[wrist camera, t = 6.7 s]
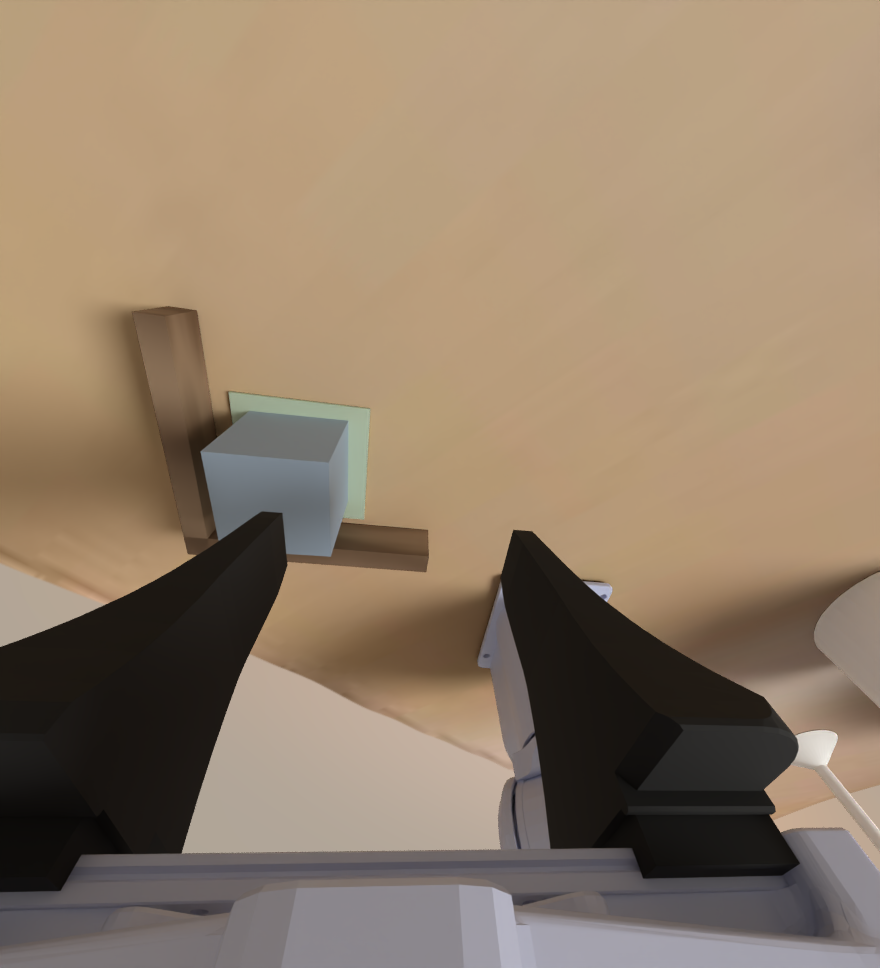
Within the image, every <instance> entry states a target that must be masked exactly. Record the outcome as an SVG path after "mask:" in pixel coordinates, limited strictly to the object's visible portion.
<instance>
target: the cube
mask: <svg viewBox="0 0 880 968" xmlns="http://www.w3.org/2000/svg"><path fill="white" fill-rule="evenodd" d="M201 456H202V461H203V466H204V471H205V476H206V481H207V486H208V491H209V496H210V501H211V506H212V511H213V516H214V521H215V526H216V531H217V535H218V540H221V539H222V538H224V537H225V536H227V535H228V534H230V533H231V532H233V531H234V530H235V529H237V528H238V527H240V526H241V525H242V524H244V523H245V522H247V521H248V520H250V519H251V518H252V517H254V516H255V515H257V514H258V513H260V512H261V511H265V512H278V513H283V523H284V534H285V545H286V554H296V555H312V556H328V557H331V554H332V551H333V548H334V545H335V541H336V538H337V535H338V532H339V528H340V525H341V522H342V519H343V515H344V512H345V509H346V506H347V502H348V421H347V420H337V419H327V418H317V417H307V416H297V415H286V414H276V413H266V412H256V411H249V412H247V413H246V414H245V415H244V416H243V417H241V418H240V419H239V420H238V421H237V422H235V423H234V424H233V425H232V426H231V427H229V428H228V429H227V430H226V431H225V432H223V433H222V434H221V435H220V436H219V437H217V438H216V439H215V440H214V441H213V442H211V443H210V444H209V445H208V446H207V447H205V448H204V449H203V450H202V451H201Z"/></svg>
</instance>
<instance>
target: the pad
mask: <svg viewBox="0 0 880 968" xmlns="http://www.w3.org/2000/svg"><path fill="white" fill-rule="evenodd" d="M229 400H230V408H231V415H232V423H233V424H234V423H235V422H237V421H238V420H239V419H240V418H241V417H243V416H244V415H245V414H246V413H247V412H249V411H256V412H266V413H276V414H286V415H297V416H307V417H317V418H327V419H337V420H347V421H348V502H347V506H346V509H345V512H344V515H343V518H352V519H363V520H364V512H365V494H366V476H367V458H368V440H369V423H370V408H363V407H355V406H347V405H339V404H330V403H322V402H314V401H306V400H298V399H290V398H281V397H273V396H265V395H257V394H249V393H240V392H232V391H229Z"/></svg>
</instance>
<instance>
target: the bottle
mask: <svg viewBox="0 0 880 968" xmlns="http://www.w3.org/2000/svg"><path fill="white" fill-rule="evenodd" d="M814 642H815V644H816V646H817V647H818V648H819V649H820V650H821V651H822V652H823V653H824V654H825V655H826V656H827V657H828V658H829V659H830V660H831V661H832V662H833V663H834V664H835V665H836V666H837V667H838V668H839V669H840V670H841V671H842V672H843V673H844V674H845V675H846V676H847V677H848V678H849V679H850V680H851V681H852V682H853V683H854V684H855V685H856V686H857V687H859V688H860V689H861V690H862V691H863V692H864V693H865V694H866V695H867V696H868V697H869V698H870V699H871V700H872V701H873V702H874V703H875V704H876V705H877V706H878V707H879V708H880V572H877V573H875V574H873V575H871V576H869V577H867V578H866V579H864V580H862V581H861V582H859V583H857V584H855V585H854V586H853V587H851V588H850V589H848V590H847V591H846V592H844V593H843V594H841V595H840V596H839V597H838V598H837V599H836V600H835V601H834V602H833V603H831V604H830V606H829V607H828V608H827V609H826V610H825V611H824V613H823V614H822V615H821V617H820V619H819V620H818V622H817V624H816V627H815V630H814Z"/></svg>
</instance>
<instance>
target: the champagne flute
mask: <svg viewBox="0 0 880 968" xmlns="http://www.w3.org/2000/svg"><path fill="white" fill-rule="evenodd" d="M795 737H796V738H797V740H798V745H799V749H798V753H797V756H796V758H795V760H794V761H793V762H792V763H791V765H794V766H798V767H803V768H808V769H812V770H815V771H816V772H817V773H818V775H819V776H820V777H821V779H822V780H823V781H824V782H825V784H826V785H827V786H828V787H829V789H830V790H831V791H832V792H833V794H834V795H835V796H836V797H837V799H838V800H839V801H840V802H841V804H842V805H843V806H844V808H845V809H846V810H847V811H848V813H849V814H850V815H851V816H852V817H853V819H854V820H855V821H856V823H857V824H858V825H859V826H860V828H861V829H862V830H863V831H864V833H865V834H866V835H867V837H868V838H869V839H870V840H871V842H872V843H873V844H874V846H875V847H876V848H877V849H878V850H879V852H880V830H879V829H878V828H877V827H876V825H875V824H874V823H873V822H872V821H871V819H870V818H869V817H868V815H867V814H866V813H865V812H864V811H863V809H862V808H861V807H860V806H859V805H858V803H857V802H856V801H855V800H854V798H853V797H852V796H851V795H850V794H849V792H848V791H847V790H846V789H845V787H844V786H843V785H842V784H841V783H840V781H839V780H838V779H837V778H836V776H835V775H834V774H833V773H832V772H831V770H830V769H829V768H828V767H827V764H828V761H829V759H830V757H831V754H832V752H833V750H834V747H835V745H836V743H837V740H838V736H837V734H836V733H835V732H832V731H828V730H815V731H809V732H805V733H801V734H798V735H795Z"/></svg>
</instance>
